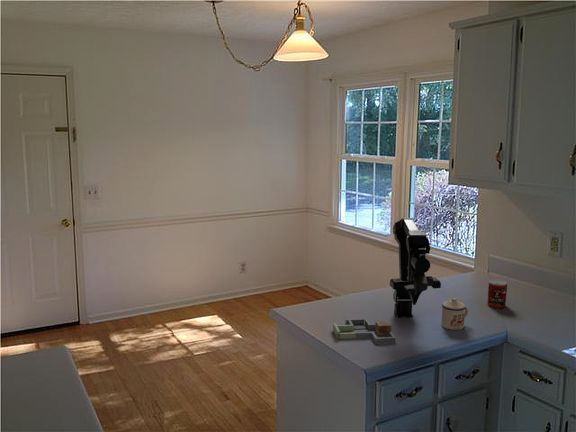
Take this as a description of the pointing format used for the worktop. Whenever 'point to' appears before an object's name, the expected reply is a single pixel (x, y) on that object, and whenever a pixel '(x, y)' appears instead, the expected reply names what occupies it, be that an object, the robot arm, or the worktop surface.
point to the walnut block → (383, 327)
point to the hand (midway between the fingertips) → (414, 304)
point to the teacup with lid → (453, 314)
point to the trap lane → (359, 324)
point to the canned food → (497, 293)
